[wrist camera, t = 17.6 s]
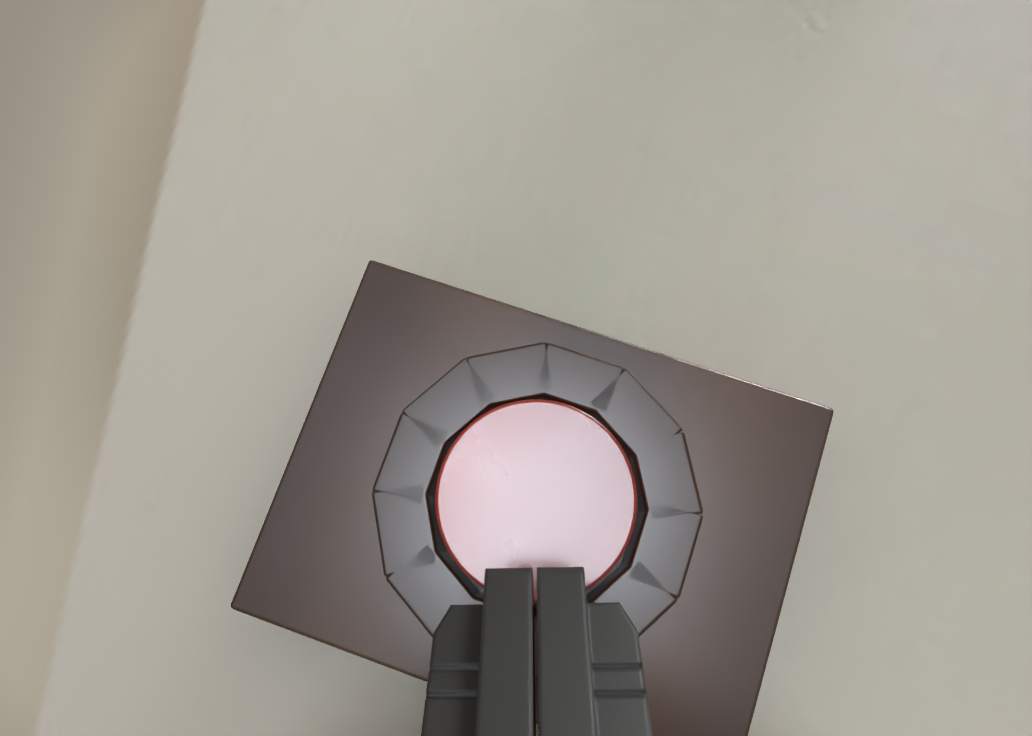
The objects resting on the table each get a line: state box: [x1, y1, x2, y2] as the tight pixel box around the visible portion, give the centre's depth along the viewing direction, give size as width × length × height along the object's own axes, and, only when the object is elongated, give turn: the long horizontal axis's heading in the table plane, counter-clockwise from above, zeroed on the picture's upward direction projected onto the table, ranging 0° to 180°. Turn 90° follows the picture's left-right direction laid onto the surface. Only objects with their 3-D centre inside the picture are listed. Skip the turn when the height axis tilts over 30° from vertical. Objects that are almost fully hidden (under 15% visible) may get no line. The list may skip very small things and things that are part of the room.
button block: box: [231, 261, 833, 736], centre depth 19 cm, size 12×9×4 cm
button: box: [435, 399, 637, 604], centre depth 17 cm, size 4×4×2 cm
